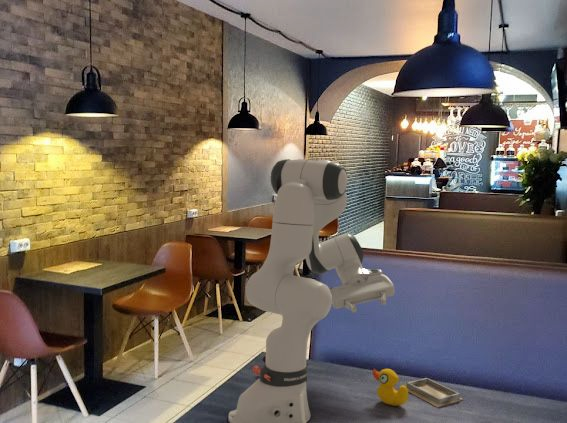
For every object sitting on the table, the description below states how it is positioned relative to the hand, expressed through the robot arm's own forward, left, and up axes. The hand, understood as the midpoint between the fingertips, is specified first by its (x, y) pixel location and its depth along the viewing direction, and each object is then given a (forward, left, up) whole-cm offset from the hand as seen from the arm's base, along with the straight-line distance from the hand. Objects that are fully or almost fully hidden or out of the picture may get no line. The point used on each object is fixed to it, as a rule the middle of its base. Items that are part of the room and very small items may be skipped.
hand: (369, 306), depth 171 cm
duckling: (-1, -12, -26) cm, 29 cm away
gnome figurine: (-18, +20, -26) cm, 37 cm away
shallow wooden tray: (+15, -13, -26) cm, 32 cm away
